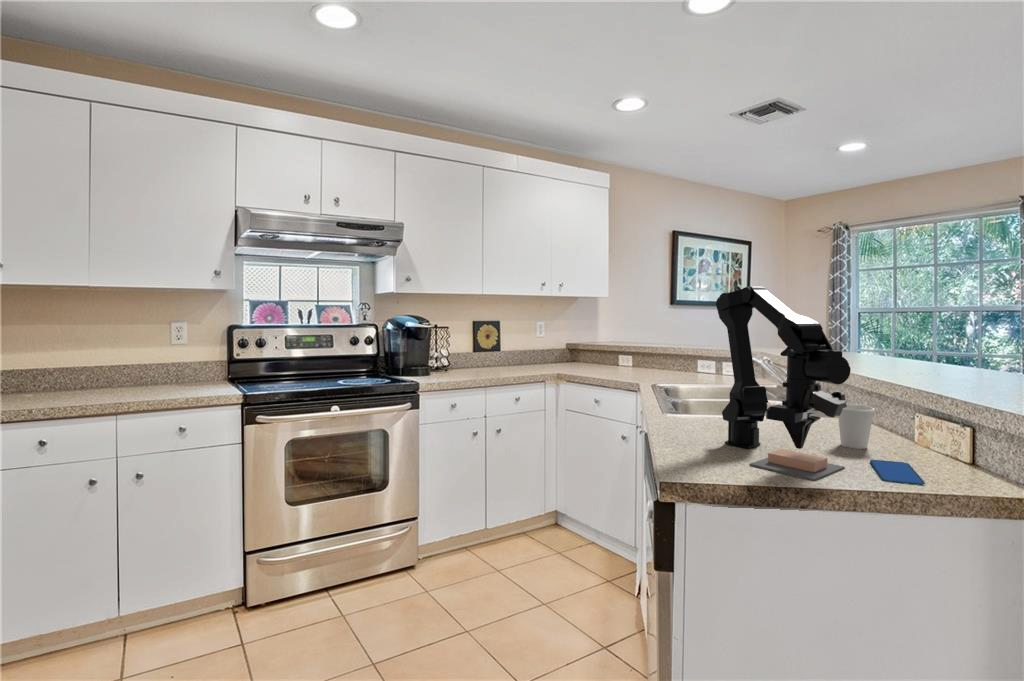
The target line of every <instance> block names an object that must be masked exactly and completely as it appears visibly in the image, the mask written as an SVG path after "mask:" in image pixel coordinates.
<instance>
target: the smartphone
mask: <svg viewBox="0 0 1024 681" xmlns="http://www.w3.org/2000/svg"><path fill="white" fill-rule="evenodd" d="M869 464H870V466H871V467H872V468H873V470H874V471H875V472H876V474H877V476H878V475H879V476H878V477H879V479H880V480H881V481H883V482H886V483H895V482H896V484H904V483H908V484H907V485H914V484H919V485H918V486H924V485H923V484H925V485H926V482H925V480H924V479H922V477H921V476H920V475H919V474H918V472H916V470H915V469H914V468H913V467H912V466H911V465H910V463H907V462H904V461H893V460H883V459H882V460H880V459H870V460H869Z"/></svg>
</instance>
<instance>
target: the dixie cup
mask: <svg viewBox="0 0 1024 681" xmlns="http://www.w3.org/2000/svg"><path fill="white" fill-rule="evenodd" d="M846 405H847V407H845V408H843V410H842V412H841V414H840V416H838V415H837V419H838V426H839V427H838V428H839V437H840V439H839V440H840V445H841V446H842V447H845V448H850V449H859V450H861V449H862V450H864V449H867V448H868V445H869V440H870V435H871V430H872V428H871V427H872V424H873V417H874V412H875V410H876V409H875V408H874V407H872V406H870V405H869V406H868V405H864V404H855V403H846Z"/></svg>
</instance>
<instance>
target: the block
mask: <svg viewBox="0 0 1024 681" xmlns="http://www.w3.org/2000/svg"><path fill="white" fill-rule="evenodd" d="M767 458H768V462H771V463H775V464H779V465H783V466H788V467H792V468H797V469H801V470H805V471H810V472H817V471H819V470H822V469H824V468H827V463H828V457H823V456H818V455H814V454H809V453H805V452H804V453H803V452H799V451H793V450H789V449H783V448H779V449H776V450H773V451H770V452H767Z"/></svg>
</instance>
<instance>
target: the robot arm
mask: <svg viewBox="0 0 1024 681" xmlns="http://www.w3.org/2000/svg"><path fill="white" fill-rule="evenodd" d="M715 306H716V309H717V314H718V319H719V320H720V321H721V322H722V323H723V325H724V326H725V328H726V329H727V337H728V344H729V351H730V358H731V367H732V374H733V381H734V382H733V383H734V384H733V385H732V387H731V388H730V392H729V402H728V404H727V405H726V406H725V407H724V408H723V409H722V411H721V416H722V419H723V421H726V422H728V426H727V430H728V431H727V433H728V434H727V440H726V441H724V444H725V445H729V444H730V445H729V446H735V447H738V448H745V449H750V448H754V447H756V446H757V447H758V446H760V445H761V442H760V428H759V427H758V424H759V423H758V422H761V423H762V422H764V419H766V420H770V421H777V422H782V423H783V425H784V426H785V428H786V430H787V432H788V434H789V436H790V438H791V440H792V442H793V444H794V447H795V448H796V449H799V450H800V449H803V448H804V445H805V443H806V441H807V440H806V439H807V437H808V434H809V432H810V430H811V427H812V425H813V424H814V423H816V422H817V421H819V420H821V419H822V418H821V417H820V416H816V415H815V413H814V411H816V412H820V413H823V414H824V416H826V417H830V418H835V417H838V416H840V414H841V412H842V410H843V408H845V407H847V405H846V404H847V400H846V393H844V392H842V391H841V390H836V391H834V392H832V393H830V392H825V391H823V390H822V386H821V383H827V384H833V385H842V384H844V383H845V382H846V381H848V379H849V378H850V375H851V366H850V363H849V361H848V360H847V359H846V358H845V357H843V351H842V350H834V349H833V347H832V345H831V343H830V342H829V339H828V338H827V335H826V334H825V332H824V330H823V329H824V328H823V326H822V325H821V323H820V322H818V321H816V320H815V319H813V318H811V317H808V316H805V315H801V314H799V313H796V312H794V311H793V310H791V309H790V308H789V307H788V306H786V305H785V304H784V303H783V302H782V301H781V300H779V299H778V298H777V297H776V296H774V295H773V294H772V293H771V292H769V291H768V289H767V287H765V286H762V285H747V286H745V287H743V288H740V289H737V290H734V291H730V292H722V293H721V294H720V295H719V297H717V299H716V301H715ZM753 309H755V310H757V312H758V313H760V314H761V315H762V316H763V317H765V318H766V319H767V321H769V322H770V323H771V324H772V325H773V326H775V328H776V329H777V336H778V337H779V338H780V339H781V341H782V342H783V343H784V345H785V346H786V348H785V349H784V350H782V351H781V352H780V356H781V357H786V381H784V382H782V388H786V389H785V391H786V392H785V396H786V397H785V398H786V399H784V400H782V401H781V404H775V405H770V406H769V407H768V403H769V400H768V399H769V398H768V396H767V389H766V386H765V385H762V386H761V385H760V384H759V383H758V381H757V380H756V376H755V375H756V374H755V368H754V359H753V353H752V347H751V346H752V345H751V338H750V333H749V322H750V320H751V319H752V316H753V311H754V310H753ZM820 382H821V383H820Z"/></svg>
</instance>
